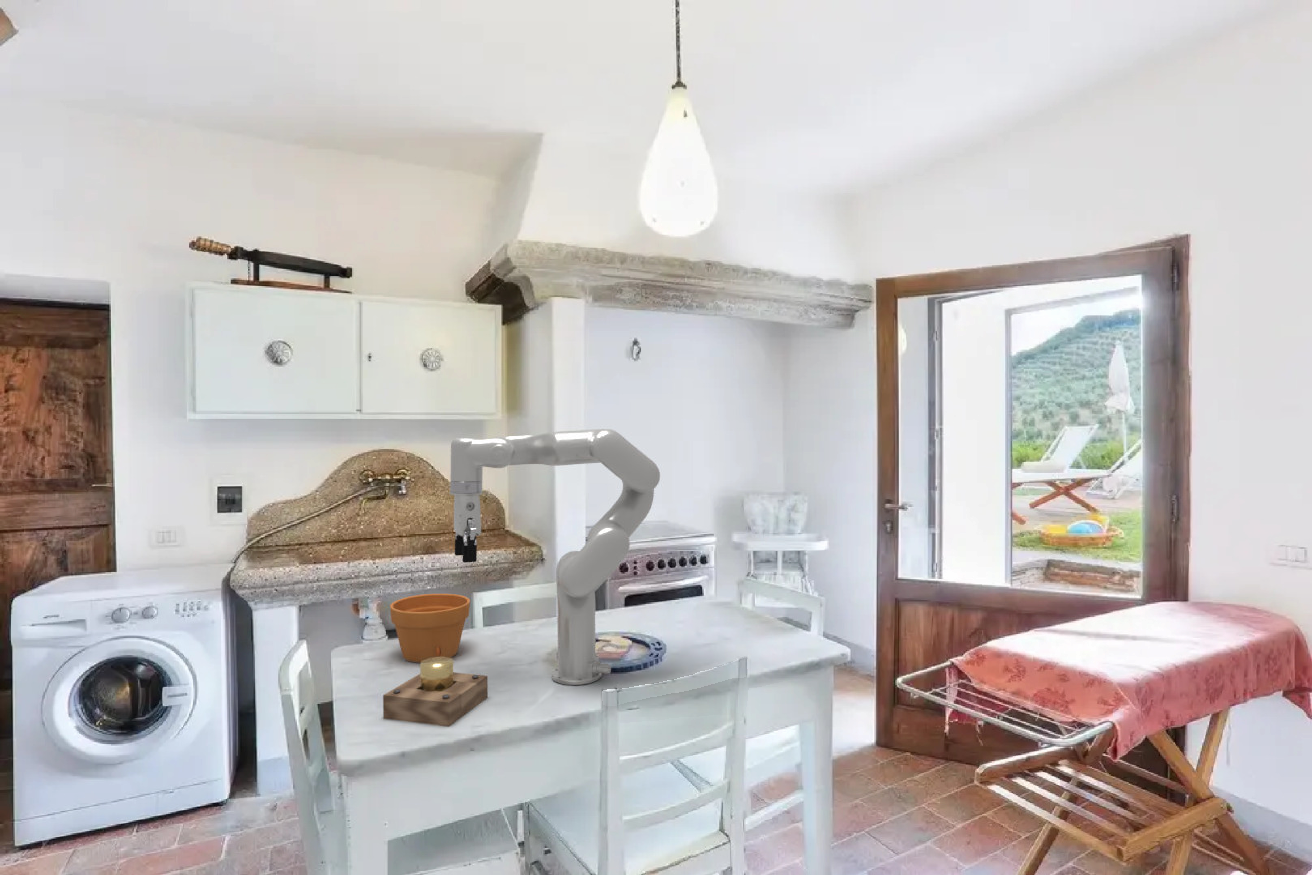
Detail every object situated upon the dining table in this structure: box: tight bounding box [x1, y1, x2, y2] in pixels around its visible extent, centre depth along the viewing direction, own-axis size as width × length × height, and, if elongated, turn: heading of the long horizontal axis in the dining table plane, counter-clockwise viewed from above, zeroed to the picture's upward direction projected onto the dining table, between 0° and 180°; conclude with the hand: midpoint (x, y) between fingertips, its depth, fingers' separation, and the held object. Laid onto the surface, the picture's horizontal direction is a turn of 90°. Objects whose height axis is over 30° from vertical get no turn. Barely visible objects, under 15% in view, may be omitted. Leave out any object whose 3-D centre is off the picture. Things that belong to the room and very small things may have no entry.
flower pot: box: [389, 593, 471, 664], centre depth 193 cm, size 21×21×15 cm
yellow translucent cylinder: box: [419, 657, 454, 692], centre depth 154 cm, size 7×7×10 cm
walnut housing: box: [382, 671, 489, 727], centre depth 154 cm, size 16×16×6 cm
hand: (465, 558), depth 169 cm, fingers open, 9 cm apart
